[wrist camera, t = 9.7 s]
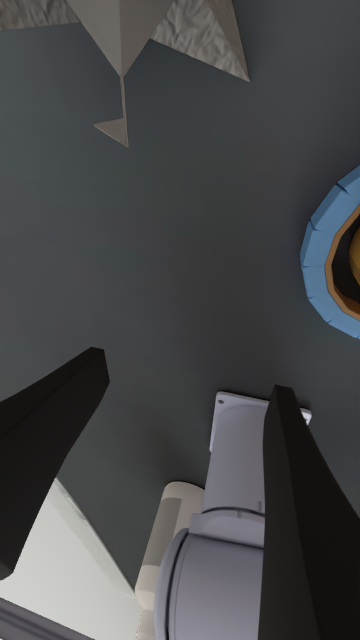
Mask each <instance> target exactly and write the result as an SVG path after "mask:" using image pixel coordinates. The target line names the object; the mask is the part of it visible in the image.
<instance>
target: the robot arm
mask: <svg viewBox="0 0 360 640" xmlns="http://www.w3.org/2000/svg"><path fill="white" fill-rule="evenodd" d="M109 383H110V380H109V375H108V369H107V364H106V359H105V353H104V349H99V348H94V347H90V348H89V349H87V350H85V351H84V352H82V353H81V354H79V355H78V356H76V357H75V358H73V359H72V360H70V361H69V362H67V363H66V364H64V365H63V366H61V367H60V368H58V369H56V370H55V371H53V372H52V373H50V374H49V375H47V376H46V377H44V378H42V379H41V380H39V381H37V382H36V383H34V384H32V385H30V386H29V387H27V388H25V389H24V390H22V391H20V392H18V393H17V394H15V395H13V396H11V397H9V398H7V399H5V400H3V401H1V402H0V580H3V579H5V578H7V577H8V576H10V575H11V574H12V573H13V571H14V569H15V566H16V564H17V561H18V559H19V557H20V554H21V552H22V549H23V547H24V544H25V542H26V540H27V537H28V535H29V533H30V530H31V528H32V526H33V524H34V522H35V519H36V517H37V515H38V513H39V510H40V508H41V506H42V504H43V502H44V500H45V498H46V496H47V494H48V492H49V489H50V487H51V485H52V483H53V481H54V479H55V477H56V475H57V473H58V471H59V470H60V468H61V466H62V464H63V462H64V460H65V458H66V456H67V455H68V453H69V451H70V449H71V448H72V446H73V445H74V443H75V441H76V440H77V438H78V437H79V435H80V434H81V432H82V431H83V429H84V427H85V426H86V424H87V423H88V421H89V420H90V418H91V416H92V415H93V413H94V412H95V410H96V409H97V407H98V405H99V404H100V402H101V400H102V398H103V396H104V394H105V392H106V389H107V387H108V385H109ZM311 416H312V415H311V412H310V411H309V410H307V409H303V408H300V407H299V404H298V401H297V399H296V396H295V393H294V391H293V389H292V388H289V387H284V386H279V385H274V389H273V392H272V395H271V398H270V401H265V400H260V399H256V398H251V397H246V396H242V395H237V394H232V393H227V392H223V391H220V392H218V393H217V395H216V402H215V410H214V418H213V425H212V433H211V441H210V451H211V452H212V453H211V458H210V464H209V469H208V475H207V480H206V486H205V491H204V497H203V502H202V508H201V513H200V514H196V513H193V514H192V516H191V521H190V526H189V528H182V529H181V530H180V531H179V532H178V533H177V534H176V535H175V537H174V538H173V539H172V541H171V542H170V544H169V545H168V547H167V549H166V551H165V554H164V556H163V559H162V562H161V566H160V569H159V573H158V578H157V583H156V589H155V598H154V628H155V634H156V640H360V518H359V517H358V515H357V514H356V512H355V510H354V509H353V507H352V506H351V504H350V503H349V501H348V499H347V498H346V496H345V495H344V493H343V491H342V490H341V488H340V486H339V485H338V483H337V481H336V480H335V478H334V476H333V474H332V473H331V471H330V469H329V467H328V465H327V463H326V462H325V460H324V458H323V456H322V454H321V452H320V450H319V448H318V446H317V444H316V442H315V440H314V438H313V436H312V434H311V432H310V430H309V428H308V424H309V421H310V419H311ZM0 638H1V639H3V640H94V639H92V638H90V637H88V636H85V635H83V634H81V633H79V632H77V631H74V630H72V629H70V628H68V627H65V626H63V625H61V624H59V623H56V622H54V621H52V620H49V619H47V618H45V617H43V616H41V615H38V614H36V613H34V612H32V611H29V610H27V609H25V608H23V607H20V606H18V605H16V604H14V603H12V602H9V601H7V600H5V599H3V598H0Z"/></svg>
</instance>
